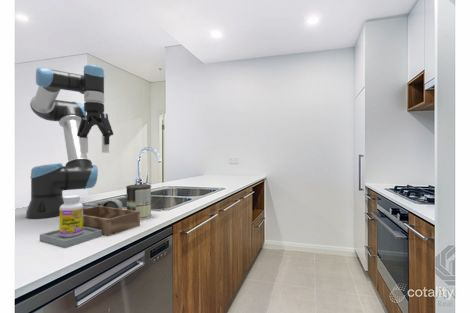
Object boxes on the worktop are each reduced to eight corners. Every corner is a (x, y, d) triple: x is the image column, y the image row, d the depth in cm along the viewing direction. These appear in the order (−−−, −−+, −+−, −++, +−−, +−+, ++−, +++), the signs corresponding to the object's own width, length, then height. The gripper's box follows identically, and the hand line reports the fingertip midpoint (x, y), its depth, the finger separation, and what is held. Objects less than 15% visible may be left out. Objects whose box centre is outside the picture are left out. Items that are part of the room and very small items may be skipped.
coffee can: (122, 220, 106) (122, 187, 106) (131, 214, 116) (130, 184, 116) (147, 220, 107) (147, 187, 107) (153, 214, 117) (153, 184, 117)
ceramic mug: (123, 213, 119) (123, 197, 119) (119, 217, 111) (118, 200, 111) (99, 214, 117) (98, 198, 117) (93, 219, 109) (92, 201, 109)
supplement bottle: (58, 239, 80) (57, 198, 79) (61, 233, 85) (60, 195, 85) (82, 235, 83) (82, 197, 83) (84, 230, 89) (83, 194, 88)
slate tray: (39, 240, 82) (39, 234, 82) (76, 230, 92) (76, 225, 92) (65, 247, 76) (65, 241, 76) (101, 235, 86) (101, 230, 86)
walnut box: (66, 226, 97) (66, 212, 97) (99, 218, 109) (99, 205, 109) (108, 235, 86) (108, 219, 86) (139, 225, 99) (139, 211, 99)
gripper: (67, 103, 109) (67, 152, 109) (106, 98, 98) (106, 152, 98) (84, 106, 116) (84, 152, 116) (122, 102, 105) (122, 152, 105)
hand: (94, 152), depth 107 cm, fingers open, 13 cm apart
